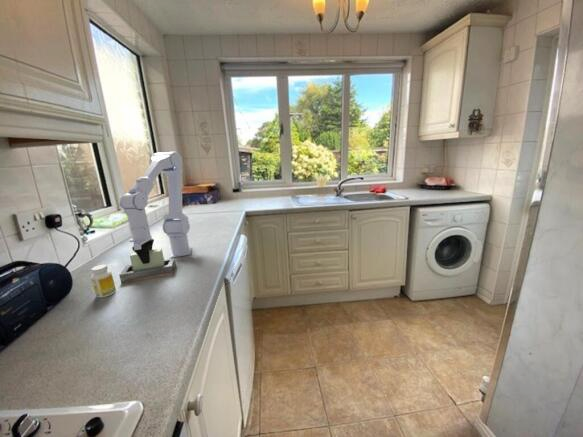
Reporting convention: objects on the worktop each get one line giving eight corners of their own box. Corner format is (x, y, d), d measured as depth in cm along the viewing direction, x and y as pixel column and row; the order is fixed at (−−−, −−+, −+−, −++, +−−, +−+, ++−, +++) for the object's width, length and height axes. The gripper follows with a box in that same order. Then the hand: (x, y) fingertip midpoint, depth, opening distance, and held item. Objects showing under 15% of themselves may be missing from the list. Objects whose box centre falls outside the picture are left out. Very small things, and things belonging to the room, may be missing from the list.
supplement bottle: (92, 299, 80) (84, 271, 78) (103, 290, 86) (95, 264, 83) (110, 297, 81) (102, 270, 78) (119, 288, 86) (112, 262, 84)
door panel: (135, 267, 95) (132, 252, 93) (164, 262, 97) (161, 248, 96) (133, 270, 92) (129, 255, 90) (163, 266, 95) (160, 251, 93)
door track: (128, 273, 97) (126, 265, 96) (176, 265, 101) (174, 257, 100) (121, 283, 89) (119, 274, 89) (173, 274, 94) (171, 266, 93)
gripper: (133, 222, 96) (140, 255, 100) (119, 233, 83) (129, 271, 86) (153, 220, 98) (160, 252, 102) (143, 230, 84) (152, 267, 88)
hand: (147, 261), depth 94 cm, fingers closed on door panel, 3 cm apart
